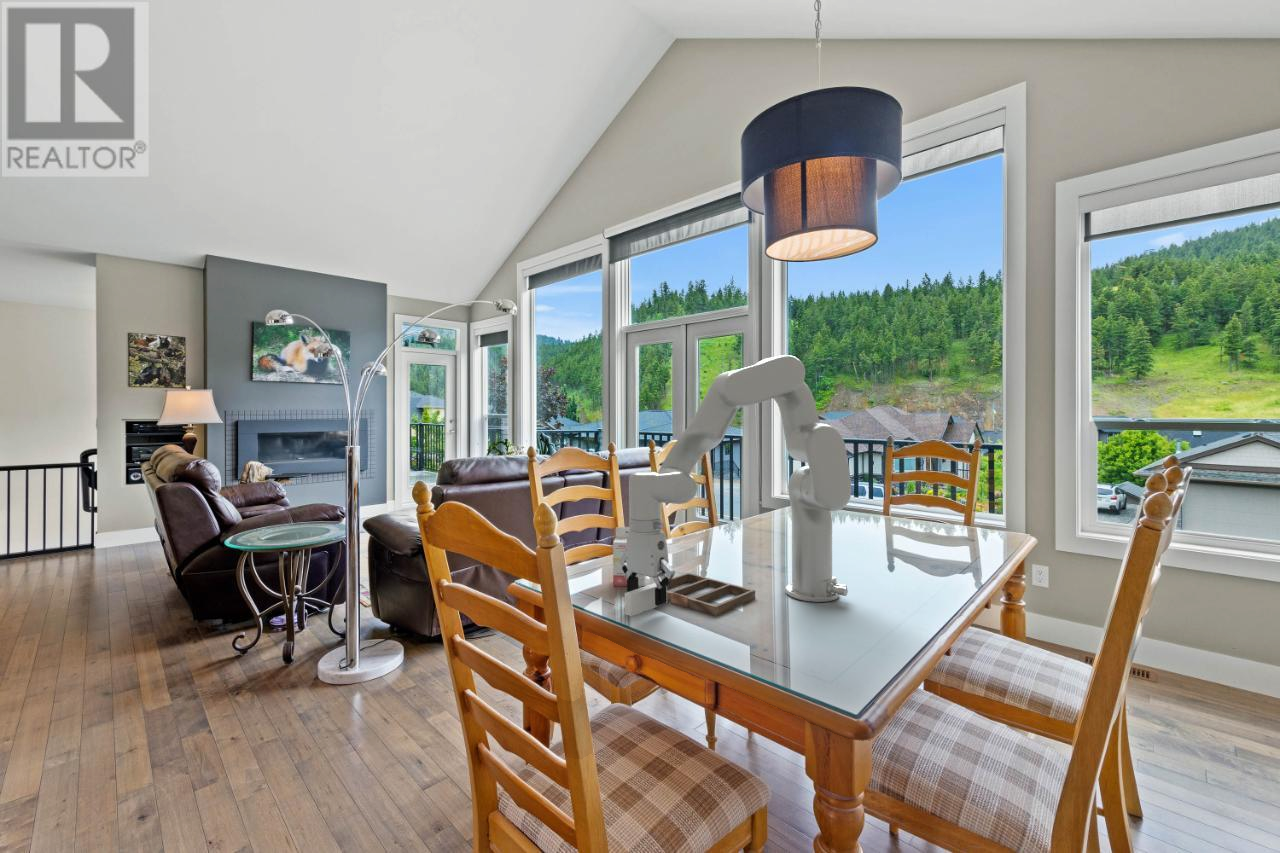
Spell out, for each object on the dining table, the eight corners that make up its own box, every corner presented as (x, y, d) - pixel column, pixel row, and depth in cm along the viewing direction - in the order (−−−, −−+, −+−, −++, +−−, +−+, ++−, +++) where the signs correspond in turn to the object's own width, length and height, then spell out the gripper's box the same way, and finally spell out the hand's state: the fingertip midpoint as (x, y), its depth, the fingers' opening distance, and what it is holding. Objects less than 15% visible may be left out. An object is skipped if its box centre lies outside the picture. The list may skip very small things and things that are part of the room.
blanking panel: (667, 603, 131) (666, 582, 131) (631, 617, 123) (630, 595, 123) (661, 601, 133) (660, 581, 132) (624, 615, 124) (624, 593, 124)
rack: (755, 598, 133) (755, 588, 133) (715, 616, 122) (715, 605, 122) (688, 580, 148) (688, 571, 148) (647, 594, 137) (647, 584, 137)
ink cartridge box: (612, 586, 144) (611, 530, 144) (615, 580, 149) (614, 526, 149) (645, 587, 143) (644, 530, 143) (646, 581, 148) (646, 526, 148)
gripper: (684, 528, 124) (685, 604, 124) (631, 517, 136) (632, 587, 136) (662, 533, 118) (663, 613, 119) (608, 522, 131) (609, 594, 131)
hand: (646, 599), depth 128 cm, fingers open, 8 cm apart
